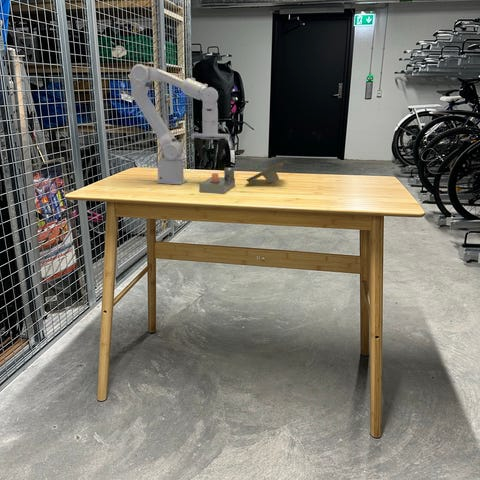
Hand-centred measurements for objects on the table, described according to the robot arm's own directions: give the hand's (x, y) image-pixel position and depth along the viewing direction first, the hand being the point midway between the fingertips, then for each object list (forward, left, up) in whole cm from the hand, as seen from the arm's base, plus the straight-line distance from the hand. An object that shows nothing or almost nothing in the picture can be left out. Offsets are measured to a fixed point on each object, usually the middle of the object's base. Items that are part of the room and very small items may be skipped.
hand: (210, 158), depth 161 cm
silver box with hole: (+6, -10, -9) cm, 15 cm away
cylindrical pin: (+6, -13, -9) cm, 17 cm away
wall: (+20, +6, -10) cm, 23 cm away
